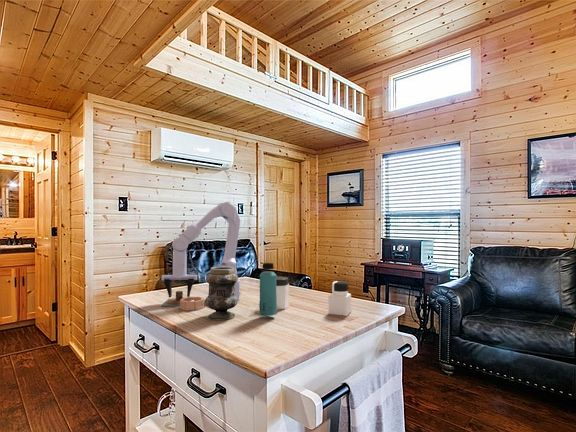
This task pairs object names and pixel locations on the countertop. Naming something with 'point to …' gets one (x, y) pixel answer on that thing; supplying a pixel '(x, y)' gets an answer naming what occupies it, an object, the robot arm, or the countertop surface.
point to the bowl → (192, 303)
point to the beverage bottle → (268, 291)
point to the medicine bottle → (340, 299)
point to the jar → (282, 292)
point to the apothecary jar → (221, 292)
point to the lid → (176, 300)
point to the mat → (169, 304)
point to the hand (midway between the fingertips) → (179, 296)
